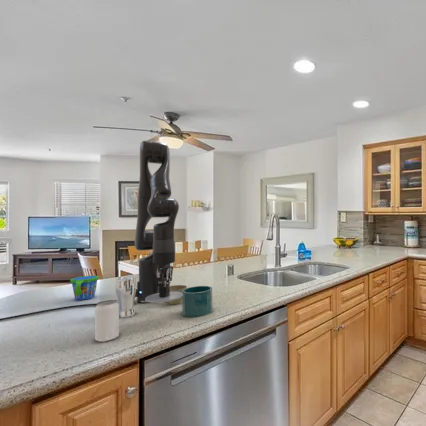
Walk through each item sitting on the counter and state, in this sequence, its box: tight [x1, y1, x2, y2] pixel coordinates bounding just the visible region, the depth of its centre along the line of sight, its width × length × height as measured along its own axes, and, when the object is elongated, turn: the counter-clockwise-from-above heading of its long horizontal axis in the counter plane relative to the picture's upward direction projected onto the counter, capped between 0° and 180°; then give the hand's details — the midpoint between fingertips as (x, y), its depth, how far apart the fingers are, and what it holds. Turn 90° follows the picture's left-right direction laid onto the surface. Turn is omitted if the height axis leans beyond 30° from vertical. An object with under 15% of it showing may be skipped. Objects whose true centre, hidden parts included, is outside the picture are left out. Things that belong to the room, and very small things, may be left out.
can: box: [94, 299, 120, 343], centre depth 98 cm, size 6×6×12 cm
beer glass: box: [115, 276, 137, 319], centre depth 120 cm, size 7×7×15 cm
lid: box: [145, 281, 183, 304], centre depth 112 cm, size 13×13×6 cm
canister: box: [181, 285, 214, 318], centre depth 123 cm, size 12×12×10 cm
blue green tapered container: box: [69, 275, 100, 301], centre depth 144 cm, size 16×10×10 cm
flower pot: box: [167, 284, 188, 305], centre depth 135 cm, size 10×10×7 cm
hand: (164, 295), depth 112 cm, fingers closed on lid, 3 cm apart
